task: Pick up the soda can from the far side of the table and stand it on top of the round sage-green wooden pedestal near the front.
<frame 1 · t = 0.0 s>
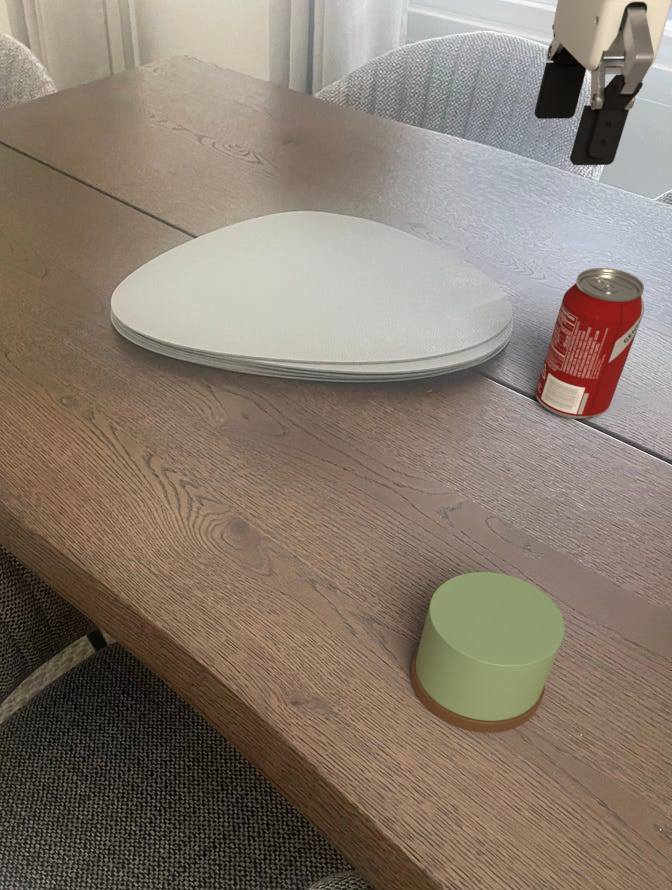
hand: (571, 139, 76), 23 cm above the table, tool pointing down, fingers open, 9 cm apart
soda can: (569, 405, 91), on the table
pedestal: (475, 681, 68), on the table
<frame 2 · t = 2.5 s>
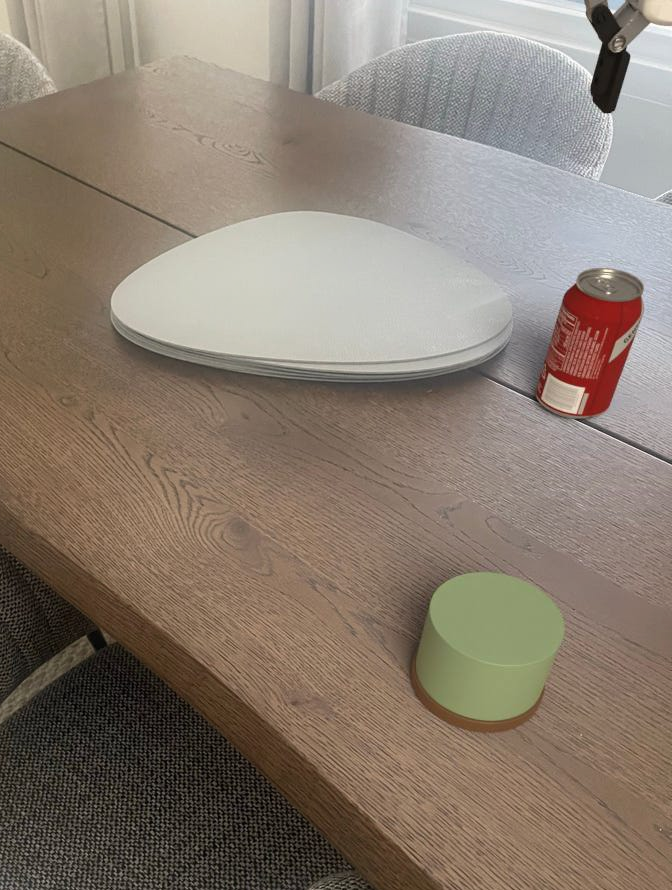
hand: (666, 106, 72), 26 cm above the table, tool pointing down, fingers open, 9 cm apart
nothing on the table moved.
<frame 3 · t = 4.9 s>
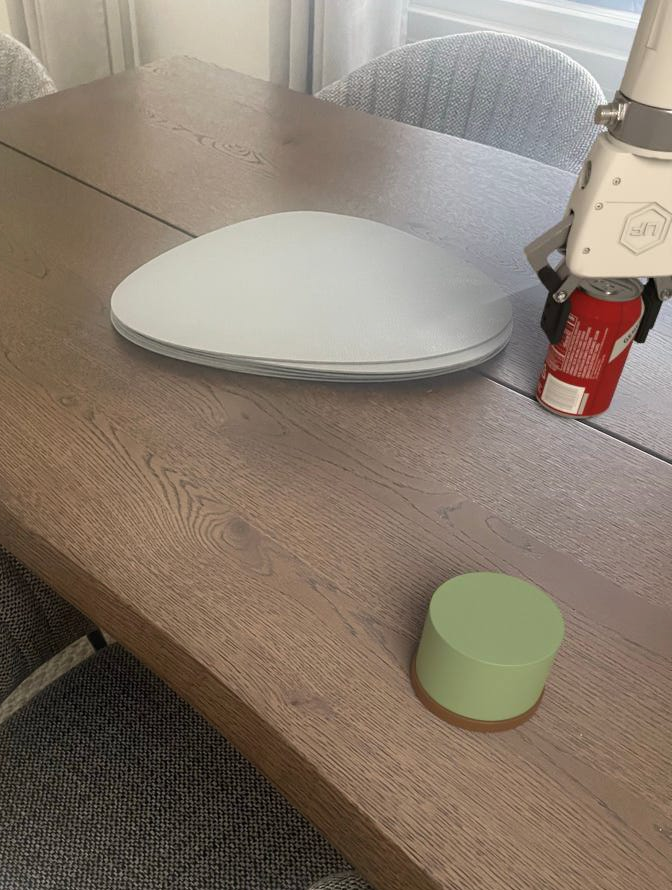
hand: (593, 334, 86), 7 cm above the table, tool pointing down, fingers closed on soda can, 6 cm apart
soda can: (569, 405, 91), on the table, touching gripper
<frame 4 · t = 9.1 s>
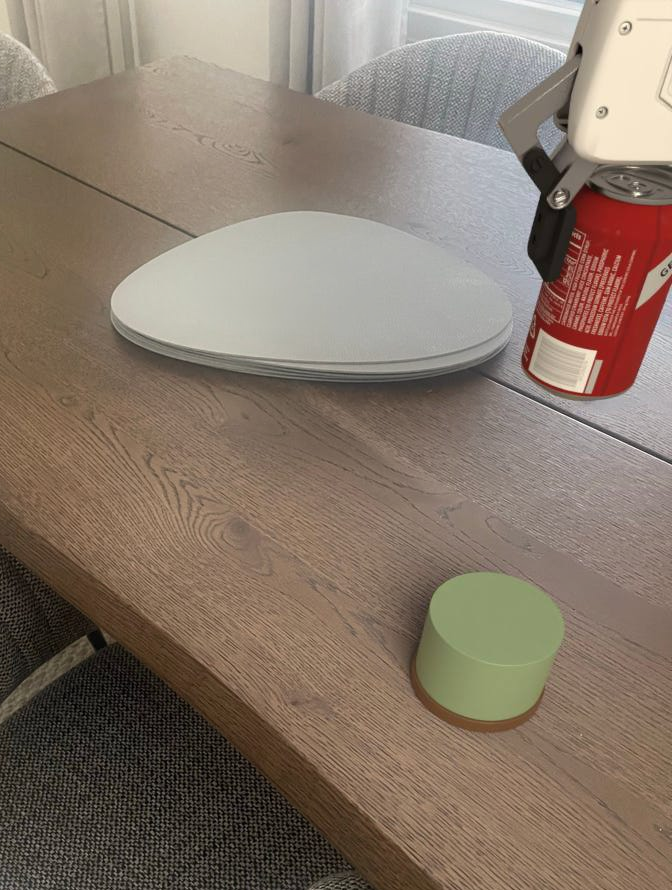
hand: (610, 268, 54), 26 cm above the table, tool pointing down, fingers closed on soda can, 6 cm apart
soda can: (572, 382, 60), point 19 cm above the table, touching gripper
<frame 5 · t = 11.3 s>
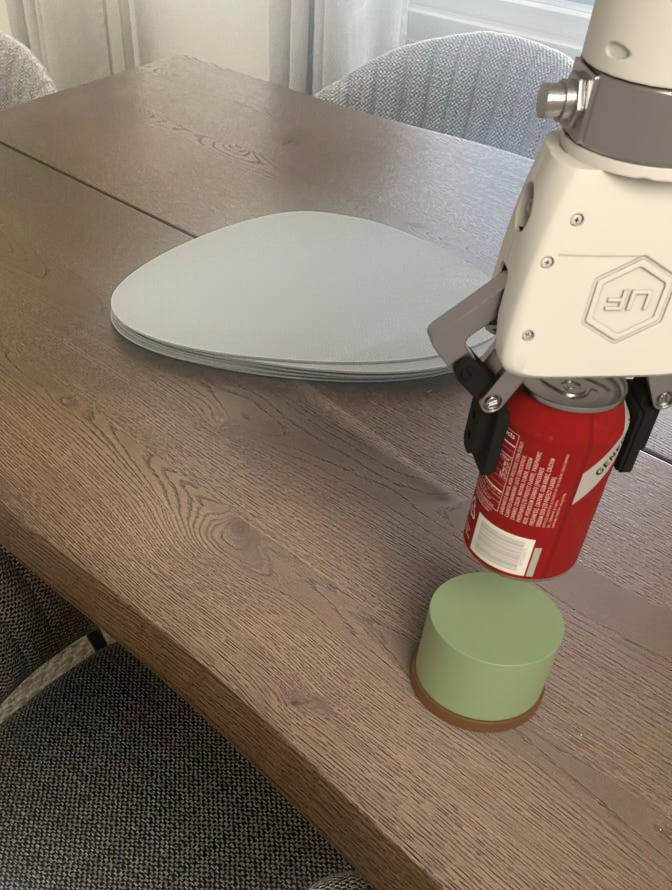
hand: (548, 457, 54), 19 cm above the table, tool pointing down, fingers closed on soda can, 6 cm apart
soda can: (516, 554, 59), point 12 cm above the table, touching gripper
when the fingers open (14 cm above the table, at t = 13.1 s): soda can stays where it is, resting on pedestal.
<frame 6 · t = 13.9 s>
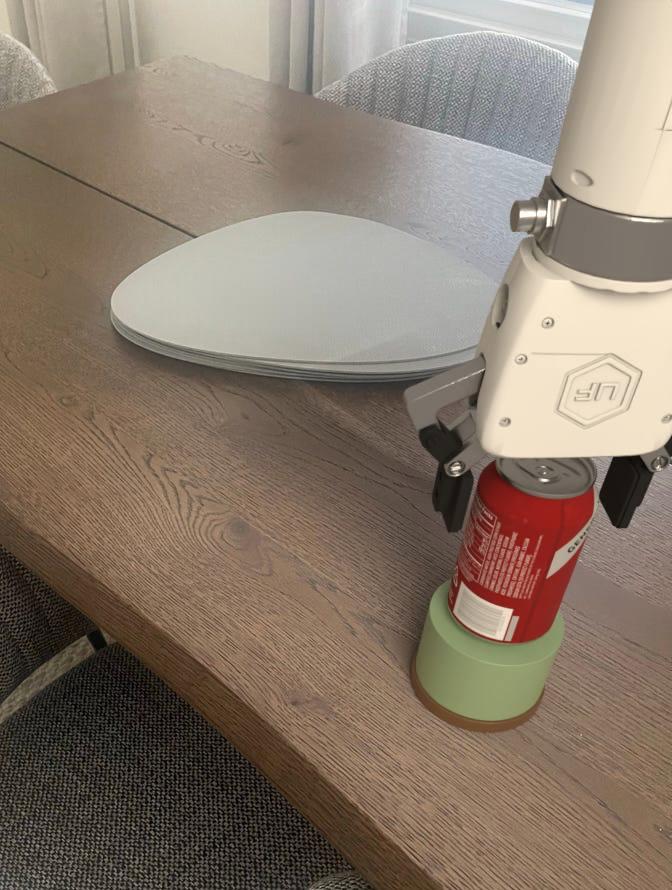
hand: (530, 515, 57), 15 cm above the table, tool pointing down, fingers open, 9 cm apart
soda can: (496, 617, 63), point 6 cm above the table, touching pedestal
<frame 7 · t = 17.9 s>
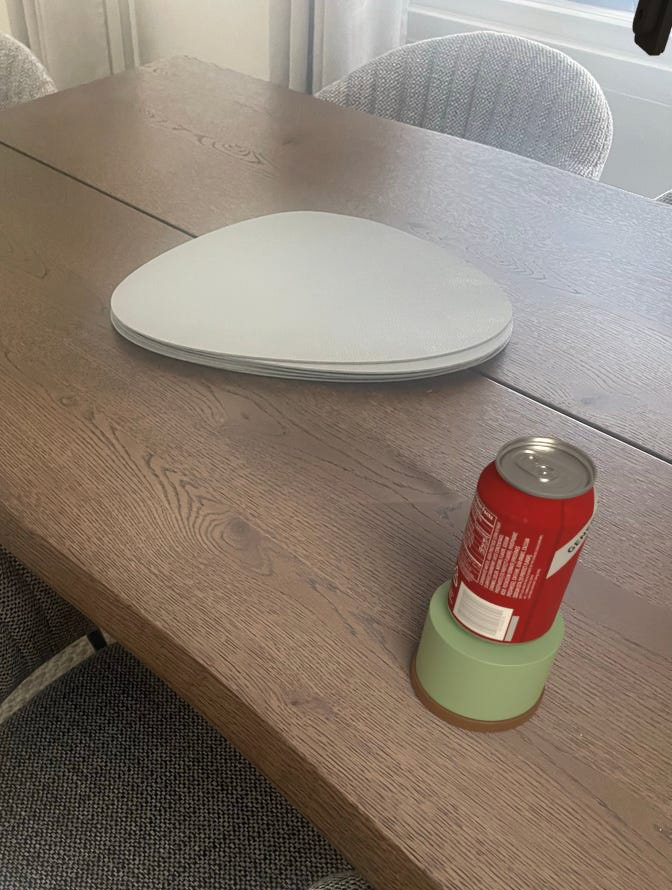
nothing on the table moved.
at the end: soda can 0.1 cm off-centre on the pedestal, point 6.3 cm above the pedestal's base; soda can tilted 0°; the gripper is holding nothing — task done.
